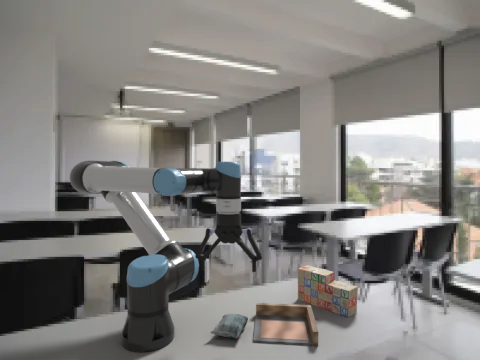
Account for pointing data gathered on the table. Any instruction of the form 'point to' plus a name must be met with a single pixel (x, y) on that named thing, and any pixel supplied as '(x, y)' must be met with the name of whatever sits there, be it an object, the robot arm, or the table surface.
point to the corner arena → (285, 324)
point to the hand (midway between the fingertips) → (228, 281)
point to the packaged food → (231, 326)
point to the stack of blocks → (326, 291)
